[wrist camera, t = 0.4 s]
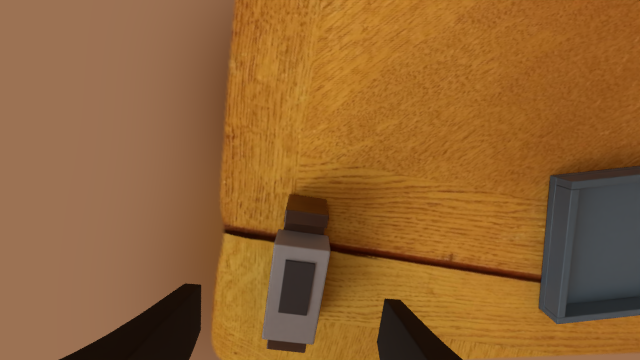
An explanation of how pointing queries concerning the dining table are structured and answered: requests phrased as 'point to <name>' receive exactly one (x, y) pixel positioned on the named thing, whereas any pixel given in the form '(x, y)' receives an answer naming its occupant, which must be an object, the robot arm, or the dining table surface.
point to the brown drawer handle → (306, 219)
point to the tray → (592, 246)
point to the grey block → (296, 286)
